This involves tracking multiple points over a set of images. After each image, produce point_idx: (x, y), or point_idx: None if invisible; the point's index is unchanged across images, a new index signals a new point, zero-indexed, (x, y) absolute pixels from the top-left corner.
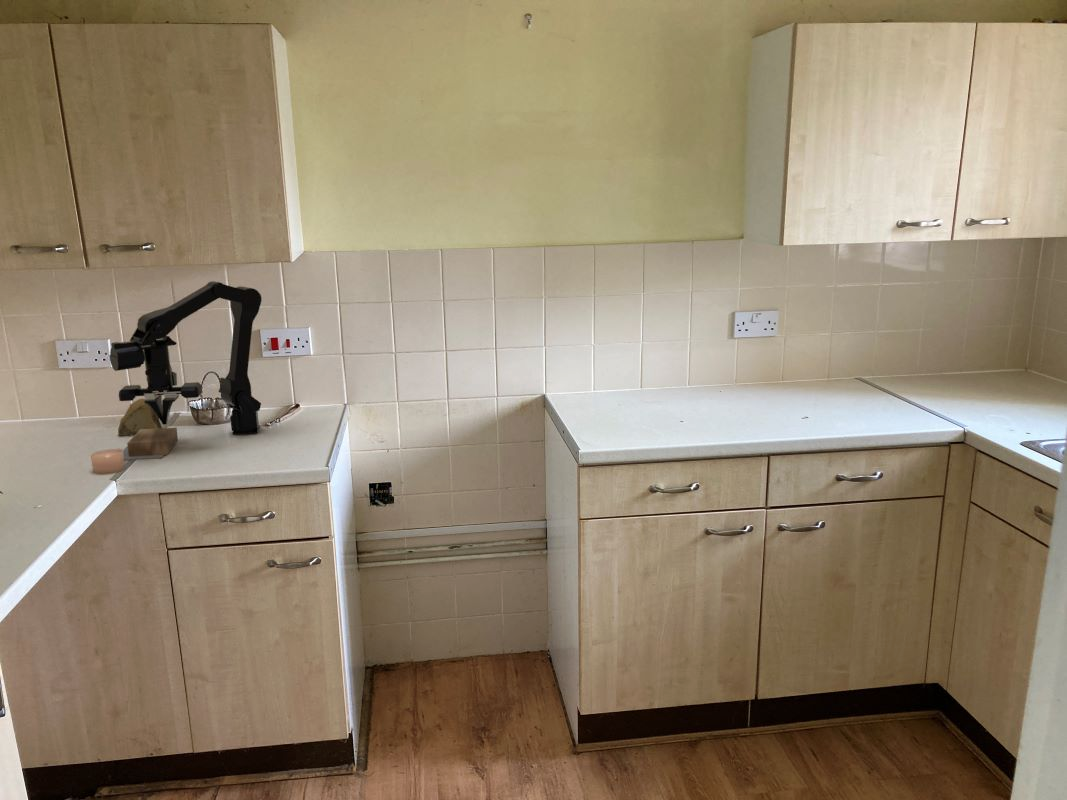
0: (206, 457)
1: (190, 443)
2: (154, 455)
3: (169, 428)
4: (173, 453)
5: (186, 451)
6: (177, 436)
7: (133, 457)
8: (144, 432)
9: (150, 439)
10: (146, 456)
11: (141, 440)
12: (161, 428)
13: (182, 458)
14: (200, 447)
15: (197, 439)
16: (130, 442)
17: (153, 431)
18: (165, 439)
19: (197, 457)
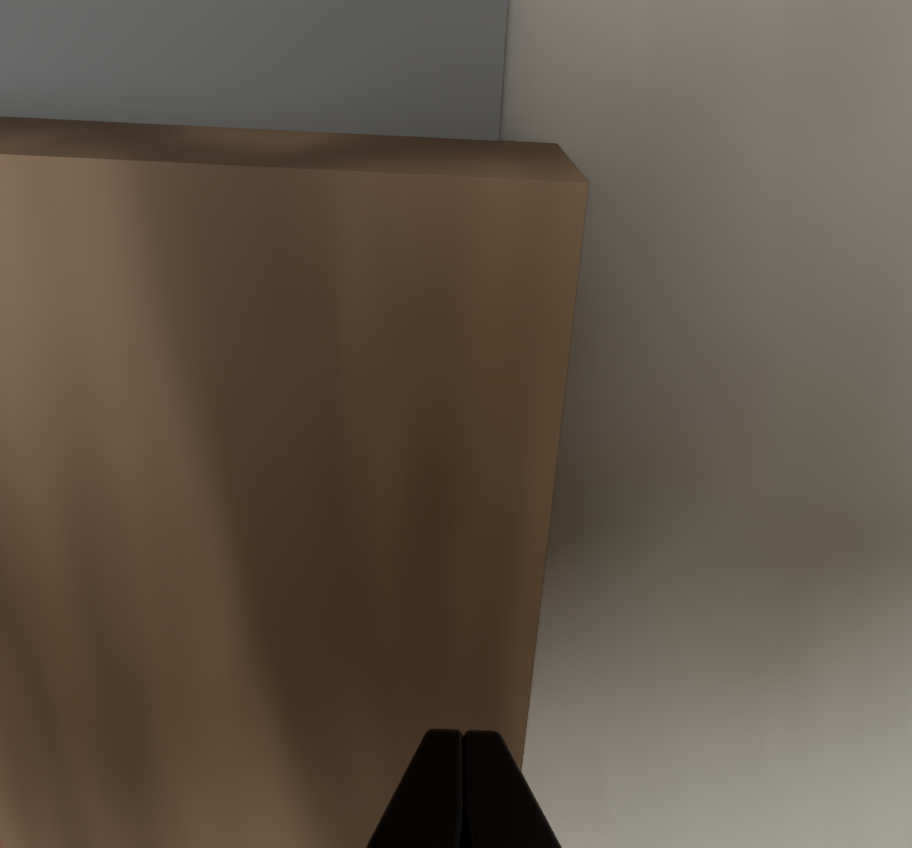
0: (902, 831)
1: (750, 308)
2: None
3: (445, 225)
4: (558, 658)
5: (702, 625)
6: (564, 155)
7: None
8: (10, 405)
9: (277, 780)
10: None
11: (157, 790)
12: (265, 183)
13: (668, 812)
14: (875, 519)
15: (867, 103)
16: (36, 837)
17: (167, 379)
18: None
19: (816, 815)
